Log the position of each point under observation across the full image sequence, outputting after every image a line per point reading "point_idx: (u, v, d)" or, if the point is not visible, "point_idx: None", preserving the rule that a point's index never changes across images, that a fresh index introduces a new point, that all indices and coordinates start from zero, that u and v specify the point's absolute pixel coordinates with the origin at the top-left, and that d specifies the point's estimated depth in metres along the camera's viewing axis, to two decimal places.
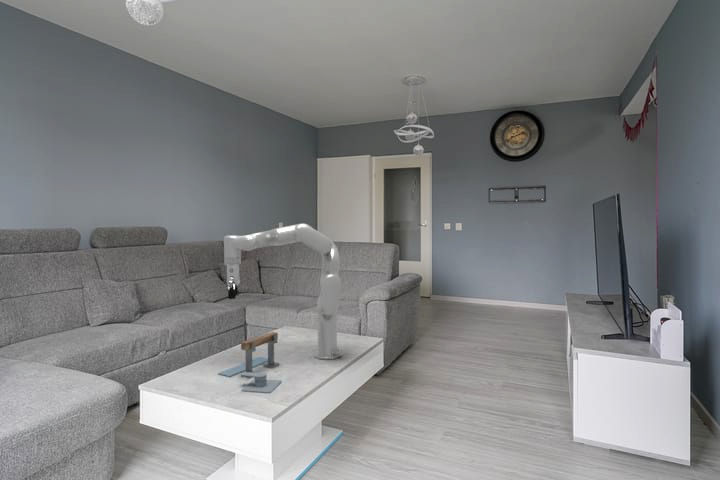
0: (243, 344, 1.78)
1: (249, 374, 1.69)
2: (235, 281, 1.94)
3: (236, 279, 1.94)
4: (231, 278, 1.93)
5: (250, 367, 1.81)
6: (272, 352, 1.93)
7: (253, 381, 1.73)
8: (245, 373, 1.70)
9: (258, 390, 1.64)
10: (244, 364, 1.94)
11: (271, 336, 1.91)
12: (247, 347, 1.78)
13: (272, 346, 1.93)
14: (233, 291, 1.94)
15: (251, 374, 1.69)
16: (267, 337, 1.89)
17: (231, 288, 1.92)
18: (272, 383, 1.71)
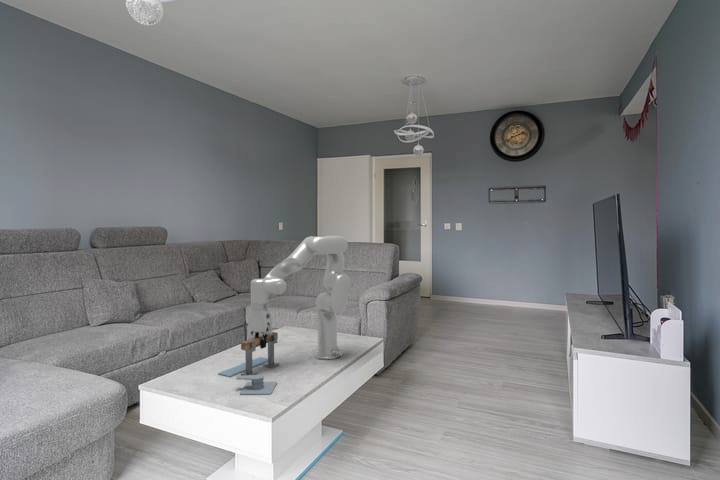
0: (243, 344, 1.78)
1: (245, 377, 1.66)
2: (271, 327, 1.86)
3: (271, 324, 1.86)
4: (268, 327, 1.84)
5: (250, 367, 1.81)
6: (272, 352, 1.93)
7: (248, 384, 1.70)
8: (241, 376, 1.67)
9: (258, 392, 1.61)
10: (244, 364, 1.94)
11: (271, 336, 1.91)
12: (247, 347, 1.78)
13: (272, 346, 1.93)
14: (265, 339, 1.87)
15: (248, 377, 1.66)
16: (267, 337, 1.89)
17: (266, 337, 1.85)
18: (268, 384, 1.69)
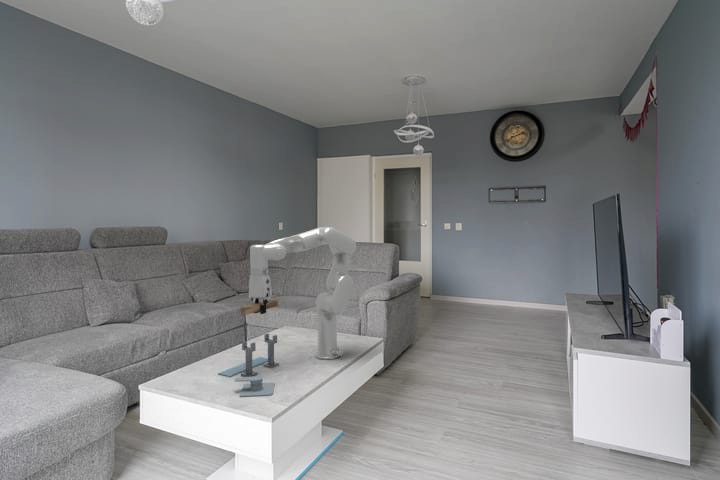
0: (243, 309, 1.78)
1: (244, 379, 1.64)
2: (270, 292, 1.85)
3: (271, 290, 1.86)
4: (268, 292, 1.84)
5: (250, 367, 1.81)
6: (272, 352, 1.93)
7: (245, 386, 1.68)
8: (239, 378, 1.64)
9: (258, 394, 1.60)
10: (244, 364, 1.94)
11: (271, 303, 1.91)
12: (247, 311, 1.78)
13: (272, 346, 1.93)
14: (265, 305, 1.86)
15: (246, 379, 1.64)
16: (267, 303, 1.89)
17: (266, 302, 1.85)
18: (266, 386, 1.68)
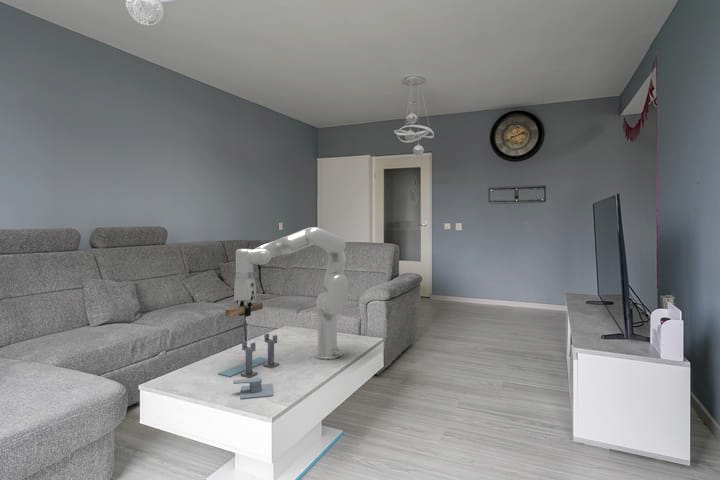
0: (227, 311, 1.82)
1: (243, 381, 1.62)
2: (255, 295, 1.90)
3: (255, 293, 1.90)
4: (253, 295, 1.88)
5: (250, 367, 1.81)
6: (272, 352, 1.93)
7: (243, 388, 1.65)
8: (237, 381, 1.62)
9: (259, 395, 1.59)
10: (244, 364, 1.94)
11: (256, 305, 1.95)
12: (231, 314, 1.82)
13: (272, 346, 1.93)
14: None
15: (245, 380, 1.62)
16: (252, 306, 1.93)
17: (251, 305, 1.89)
18: (265, 387, 1.67)
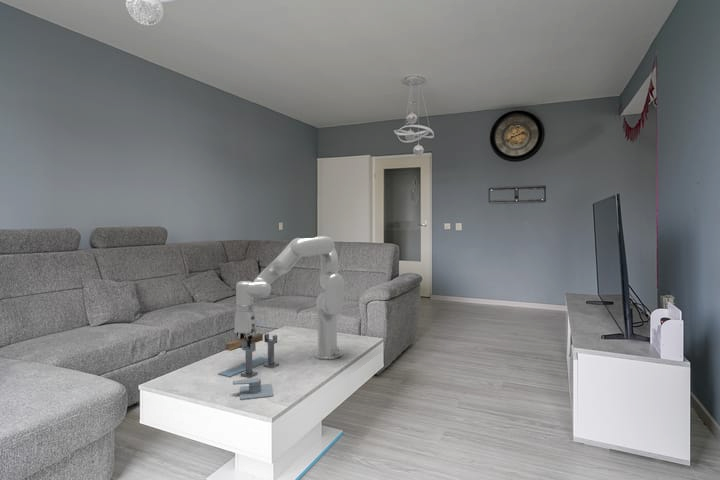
0: (228, 345, 1.83)
1: (243, 381, 1.61)
2: (255, 328, 1.90)
3: (256, 326, 1.91)
4: (253, 328, 1.89)
5: (250, 367, 1.81)
6: (272, 352, 1.93)
7: (242, 389, 1.65)
8: (237, 381, 1.61)
9: (259, 395, 1.58)
10: (244, 364, 1.94)
11: (256, 337, 1.96)
12: (232, 348, 1.83)
13: (272, 346, 1.93)
14: None
15: (245, 381, 1.61)
16: (252, 338, 1.94)
17: (251, 338, 1.90)
18: (264, 387, 1.66)
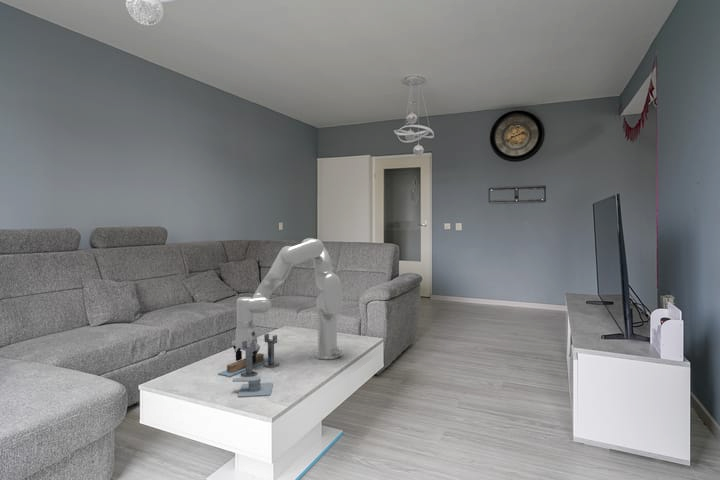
0: (229, 367, 1.83)
1: (242, 379, 1.63)
2: None
3: (256, 342, 1.91)
4: (255, 342, 1.89)
5: (250, 367, 1.81)
6: (272, 352, 1.93)
7: (243, 386, 1.67)
8: (237, 379, 1.64)
9: (256, 394, 1.60)
10: None
11: (257, 358, 1.96)
12: (233, 370, 1.83)
13: (272, 346, 1.93)
14: None
15: (244, 379, 1.64)
16: None
17: (256, 352, 1.89)
18: (265, 386, 1.68)
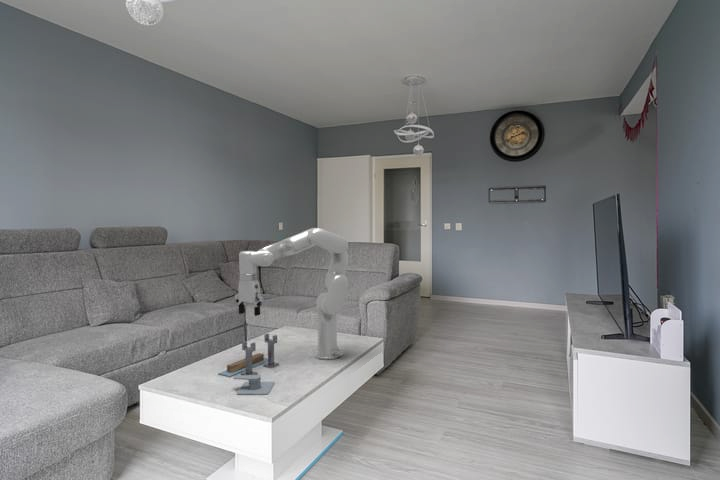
0: (229, 367, 1.83)
1: (243, 377, 1.66)
2: None
3: None
4: (258, 294, 1.90)
5: (250, 367, 1.81)
6: (272, 352, 1.93)
7: (245, 384, 1.70)
8: (238, 376, 1.67)
9: (254, 392, 1.61)
10: None
11: (257, 358, 1.96)
12: (233, 370, 1.83)
13: (272, 346, 1.93)
14: None
15: (245, 377, 1.66)
16: (253, 359, 1.94)
17: (260, 304, 1.90)
18: (265, 384, 1.69)
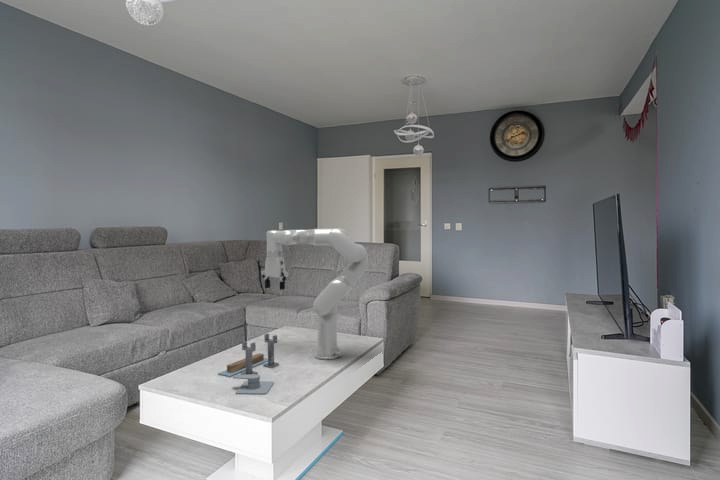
0: (229, 367, 1.83)
1: (242, 376, 1.66)
2: None
3: None
4: (284, 270, 2.07)
5: (250, 367, 1.81)
6: (272, 352, 1.93)
7: (245, 383, 1.71)
8: (237, 375, 1.67)
9: (253, 392, 1.62)
10: None
11: (257, 358, 1.96)
12: (233, 370, 1.83)
13: (272, 346, 1.93)
14: None
15: (244, 376, 1.66)
16: (253, 359, 1.94)
17: (285, 279, 2.07)
18: (265, 384, 1.70)
